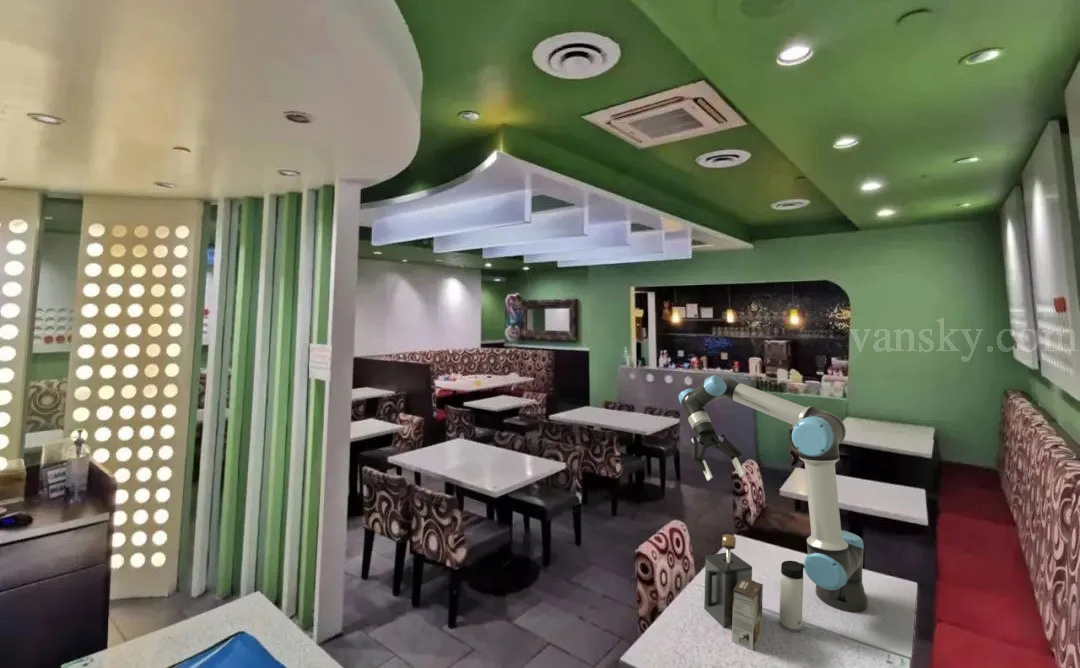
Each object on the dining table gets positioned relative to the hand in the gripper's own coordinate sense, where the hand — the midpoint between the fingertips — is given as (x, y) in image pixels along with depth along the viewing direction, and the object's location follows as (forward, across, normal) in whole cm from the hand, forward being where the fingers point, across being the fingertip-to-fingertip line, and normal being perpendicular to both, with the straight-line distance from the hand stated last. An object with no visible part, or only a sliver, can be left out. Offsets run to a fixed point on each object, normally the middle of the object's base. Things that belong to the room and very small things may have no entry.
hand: (726, 477), depth 172 cm
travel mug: (+46, -6, -11) cm, 47 cm away
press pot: (+38, +11, -18) cm, 44 cm away
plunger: (+37, +10, -16) cm, 41 cm away
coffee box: (+46, +12, -10) cm, 49 cm away
